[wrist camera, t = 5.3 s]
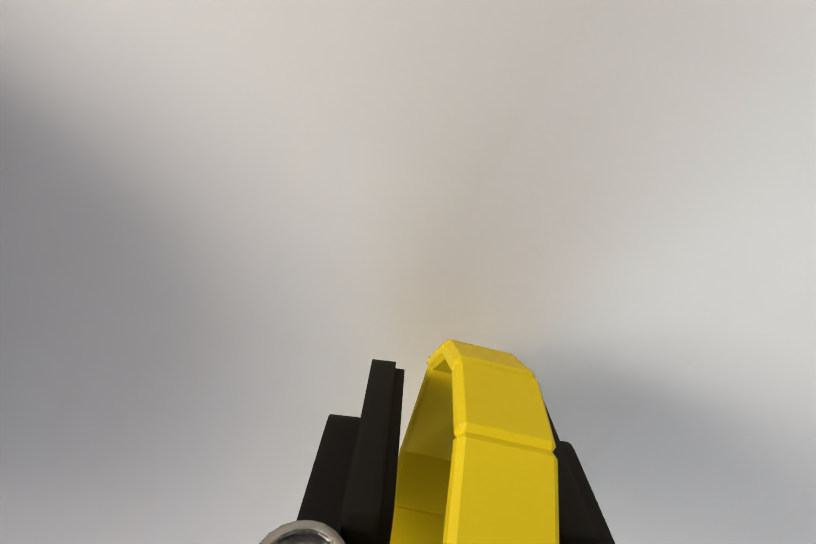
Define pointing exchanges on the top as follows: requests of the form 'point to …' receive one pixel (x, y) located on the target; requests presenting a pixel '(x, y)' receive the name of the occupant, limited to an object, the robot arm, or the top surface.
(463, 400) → the watch
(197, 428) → the top surface
